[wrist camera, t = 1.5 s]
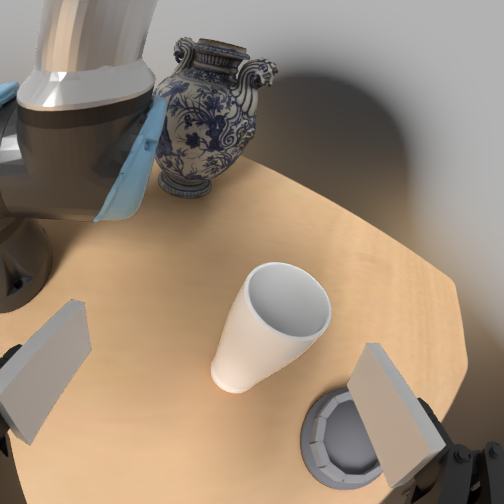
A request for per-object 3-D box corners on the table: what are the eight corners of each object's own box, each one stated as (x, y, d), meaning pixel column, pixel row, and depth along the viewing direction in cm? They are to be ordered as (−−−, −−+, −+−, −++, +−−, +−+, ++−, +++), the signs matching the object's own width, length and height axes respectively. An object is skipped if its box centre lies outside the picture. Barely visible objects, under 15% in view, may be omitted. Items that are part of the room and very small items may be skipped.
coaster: (285, 405, 27) (292, 400, 26) (369, 378, 32) (378, 373, 31) (319, 507, 18) (329, 508, 17) (401, 459, 23) (411, 457, 22)
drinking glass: (270, 366, 30) (342, 292, 20) (244, 412, 25) (318, 360, 15) (222, 335, 31) (269, 246, 21) (190, 377, 26) (224, 301, 16)
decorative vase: (253, 193, 56) (304, 66, 37) (194, 231, 42) (247, 49, 24) (180, 151, 60) (210, 38, 41) (116, 174, 47) (137, 31, 28)
